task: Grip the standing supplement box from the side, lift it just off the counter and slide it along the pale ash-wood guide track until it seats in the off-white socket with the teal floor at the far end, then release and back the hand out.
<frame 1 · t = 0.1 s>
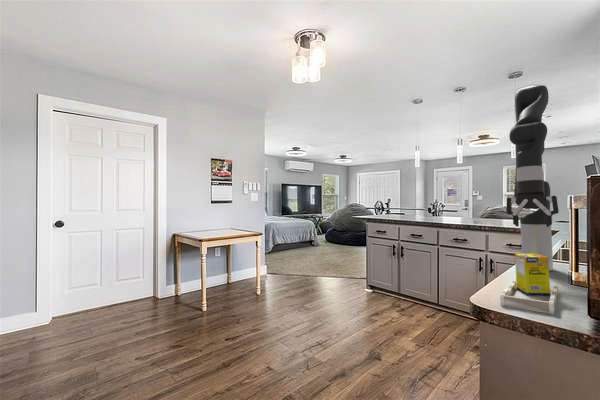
hand: (532, 226, 104), 17 cm above the counter, tool pointing down, fingers open, 8 cm apart
supplement box: (532, 293, 87), on the counter
track dock: (529, 301, 80), on the counter
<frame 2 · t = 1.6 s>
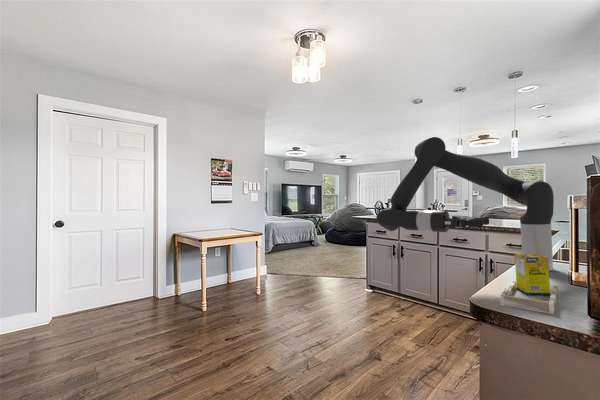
hand: (486, 222, 94), 20 cm above the counter, tool horizontal, fingers open, 8 cm apart
nothing on the counter moved.
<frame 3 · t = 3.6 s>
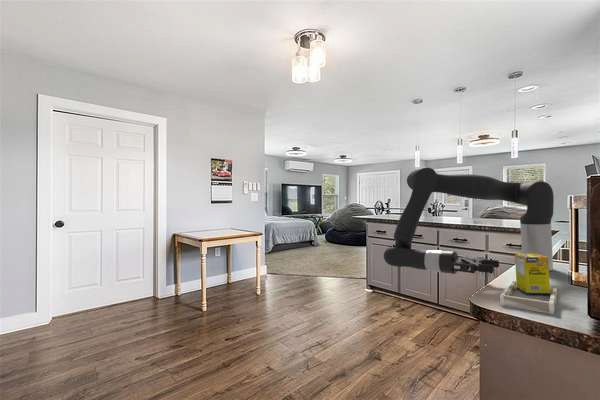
hand: (496, 266, 93), 7 cm above the counter, tool horizontal, fingers open, 8 cm apart
nothing on the counter moved.
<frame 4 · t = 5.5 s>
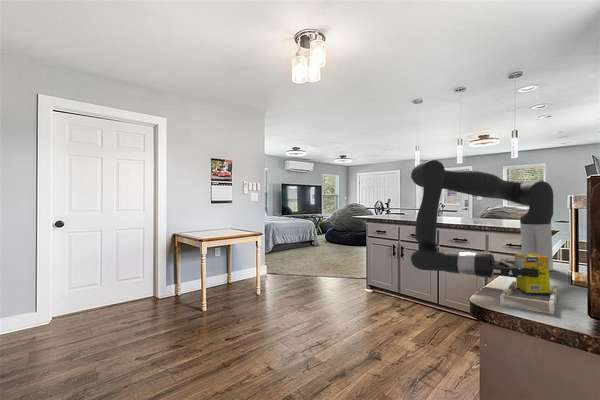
hand: (540, 270, 86), 7 cm above the counter, tool horizontal
supplement box: (532, 293, 87), on the counter, touching gripper
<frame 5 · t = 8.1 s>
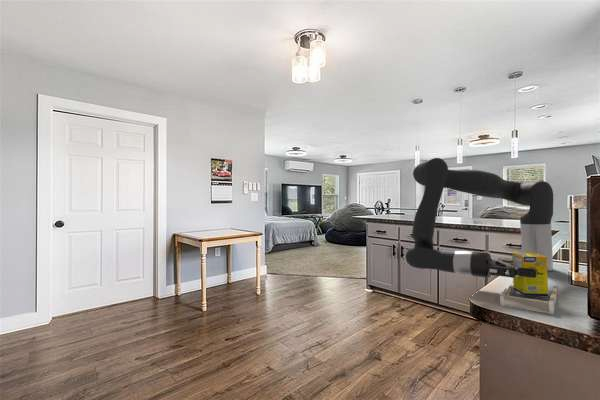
hand: (537, 270, 83), 7 cm above the counter, tool horizontal
supplement box: (530, 294, 84), point 1 cm above the counter, touching gripper
when the fingers open (8 cm above the counter, at t = 11.6 s): supplement box stays where it is, resting on track dock.
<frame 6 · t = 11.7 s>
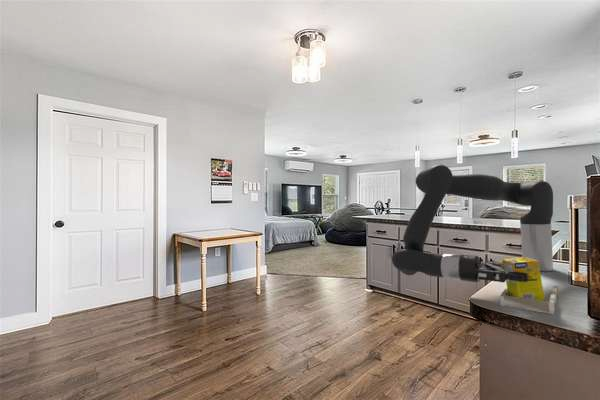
hand: (529, 273, 78), 8 cm above the counter, tool horizontal, fingers open, 8 cm apart
supplement box: (526, 302, 79), resting on track dock, touching gripper
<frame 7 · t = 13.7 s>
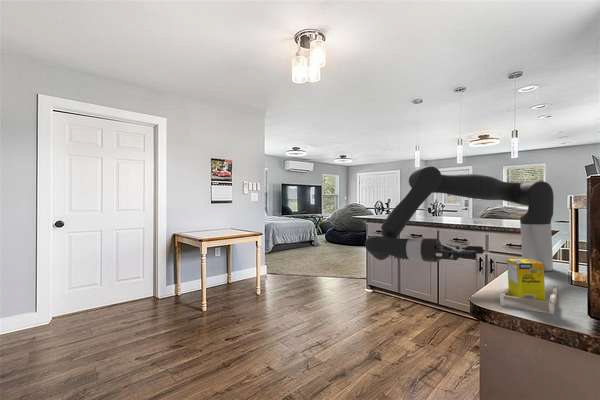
hand: (479, 252, 88), 12 cm above the counter, tool horizontal, fingers open, 8 cm apart
supplement box: (526, 303, 79), resting on track dock
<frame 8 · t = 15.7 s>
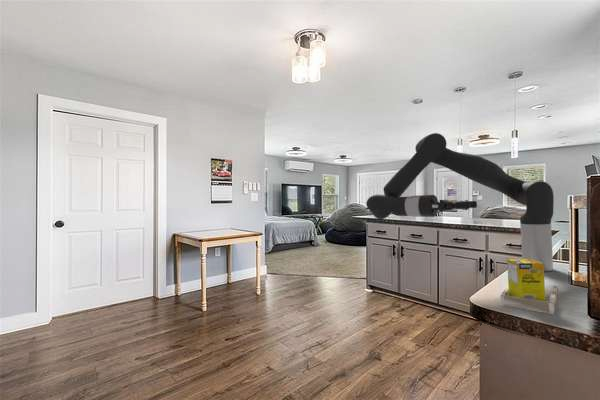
hand: (473, 204, 94), 26 cm above the counter, tool horizontal, fingers open, 8 cm apart
nothing on the counter moved.
at the end: supplement box 1.1 cm from the target spot, resting on track dock; supplement box tilted 0°; the gripper is holding nothing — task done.
